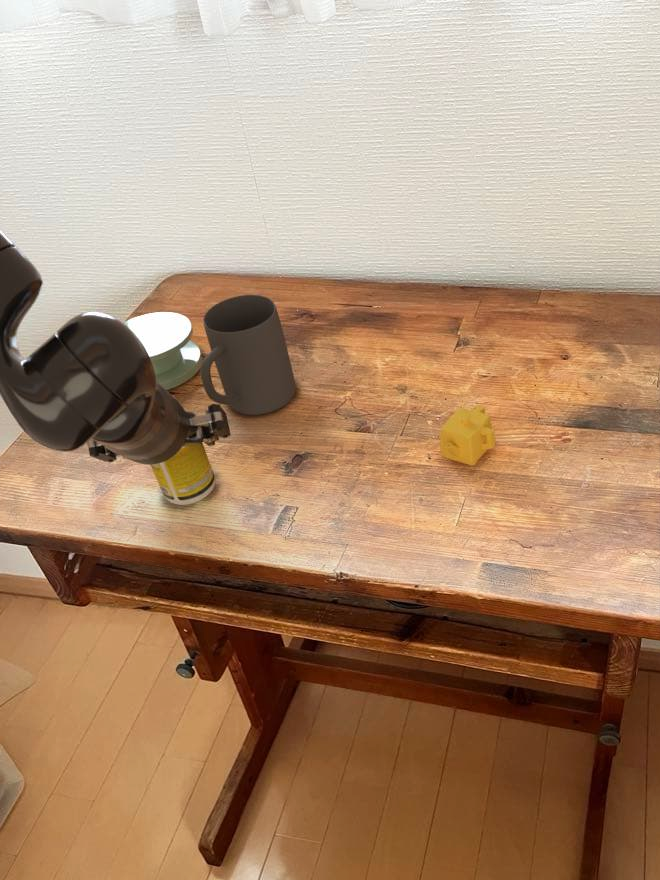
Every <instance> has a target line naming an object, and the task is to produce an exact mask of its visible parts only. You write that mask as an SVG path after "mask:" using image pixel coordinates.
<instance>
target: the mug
mask: <svg viewBox="0 0 660 880" xmlns="http://www.w3.org/2000/svg"><path fill="white" fill-rule="evenodd" d="M203 327H204V331H205V335H206V338H207V341H208V345H209V348H210V352H208V354H207V355H206V356H205V357H204V358H203V359H202V360H203V361H202V364H201V368H200V369H199V373H200V380H201V383H202V387H203V390H204V391H205V393H206V395H207V397H208V398H209V399H210V400H211V401H212V402H214V403H216V404H219V405H224V406H225V405H226V406H230V407H231V409H233V410H234V411H235V412H237V413H239V414H242V415H247V416H259V415H265V414H270V413H273V412H275V411H277V410H279V409H282V408H283V407H285V406H287V404H289V402H290V401H291V400H292V399H293V398H294V396H295V393H296V382H295V377H294V376H295V375H294V372H293V368H292V367H293V366H292V363H291V359H290V354H289V350H288V346H287V343H286V338H285V335H284V331H283V326H282V323H281V319H280V316H279V312H278V308H277V306H276V304H275V302H274V301H273V300H272V299H270V297H267V296H264V295H258V294H244V295H243V294H242V295H238V296H233V297H229V298H226V299H224V300H222V301H219V302H218V303H216V304H214V305H213V306H211V307H210V308H208V310H207V311H206V312H205V314H204V316H203ZM213 364H215V367H216V371H217V374H218V376H219V380H220V383H221V386H222V389H223V392H224V394H221V393H219V392H218V391H217V390H216V389H215V386H214V383H213V380H212V376H211V369H212V365H213Z"/></svg>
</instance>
